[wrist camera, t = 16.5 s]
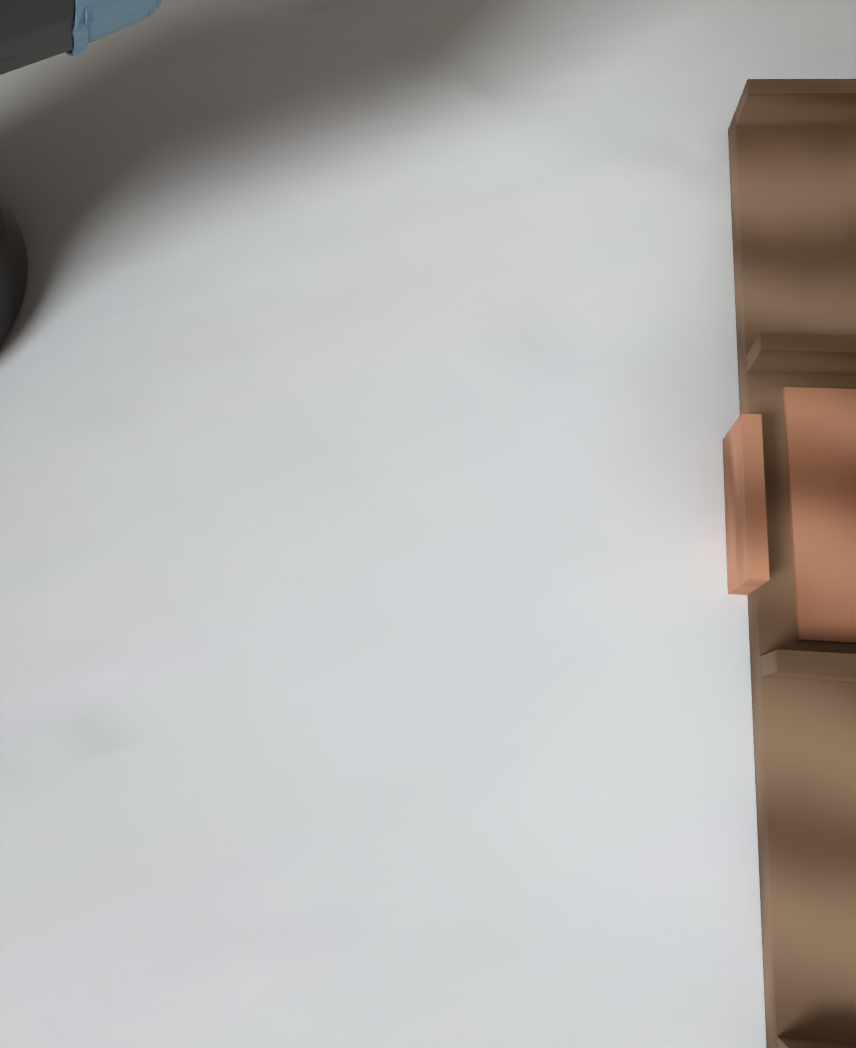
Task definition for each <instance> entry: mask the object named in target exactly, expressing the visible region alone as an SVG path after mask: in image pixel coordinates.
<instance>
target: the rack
mask: <svg viewBox="0 0 856 1048" xmlns="http://www.w3.org/2000/svg"><path fill="white" fill-rule="evenodd" d="M728 137H729V161H730V185H731V209H732V233H733V257H734V280H735V304H736V328H737V352H738V376H739V399H740V416H739V418H738V419H737V421H736V422H735V423H734V425H733V426H732V428H731V429H730V431H729V432H728V433H727V435H726V436H725V438H724V439H723V461H724V489H725V518H726V546H727V575H728V594H742V595H748V614H749V638H750V662H751V685H752V709H753V733H754V757H755V781H756V804H757V828H758V852H759V876H760V900H761V924H762V947H763V971H764V995H765V1019H766V1043H767V1048H856V79H747V82H746V85H745V87H744V90H743V93H742V95H741V98H740V101H739V103H738V106H737V109H736V111H735V113H734V116H733V119H732V121H731V124H730V127H729V129H728Z"/></svg>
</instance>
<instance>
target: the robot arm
mask: <svg viewBox="0 0 856 1048" xmlns="http://www.w3.org/2000/svg"><path fill="white" fill-rule="evenodd" d="M161 1H162V0H0V75H1V74H4V73H7V72H9V71H12V70H15V69H18V68H21V67H24V66H27V65H29V64H32V63H35V62H38V61H41V60H44V59H47V58H49V57H52V56H55V55H58V54H61V53H64V52H66V53H67V54H68V55H70V56H74V55H78V54H80V53H81V52H82V51H83V50H84V49H85V48H86V47H87V45H88V43H90V42H92V41H95V40H97V39H99V38H102V37H104V36H107V35H109V34H111V33H114V32H116V31H119V30H121V29H124V28H126V27H128V26H131V25H133V24H136V23H138V22H141V21H143V20H145V19H146V18H148V17H149V16H150V15H152V14H153V13H154V12H155V11H156V10H157V9H158V7H159V5H160V3H161ZM26 272H27V262H26V251H25V246H24V242H23V238H22V235H21V232H20V230H19V227H18V225H17V223H16V221H15V219H14V218H13V216H12V215H11V213H10V211H9V210H8V209H7V208H6V206H5V205H4V204H3V203H2V202H1V200H0V345H1V344H2V342H3V341H4V339H5V338H6V336H7V334H8V332H9V330H10V329H11V327H12V325H13V322H14V320H15V318H16V316H17V313H18V311H19V308H20V305H21V302H22V298H23V294H24V289H25V283H26Z"/></svg>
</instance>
